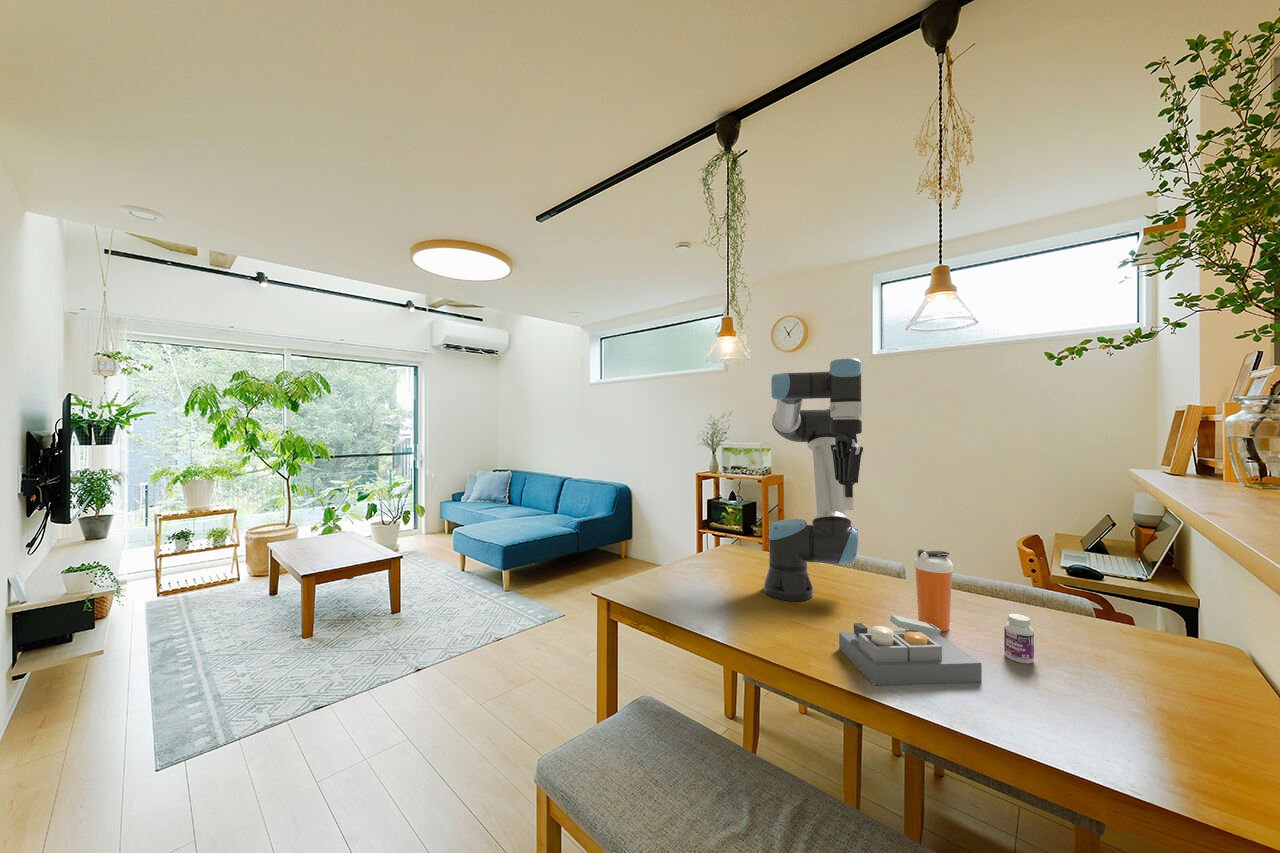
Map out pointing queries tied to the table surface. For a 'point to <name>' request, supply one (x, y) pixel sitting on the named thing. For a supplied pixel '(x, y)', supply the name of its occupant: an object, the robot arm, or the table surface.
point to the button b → (915, 638)
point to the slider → (859, 629)
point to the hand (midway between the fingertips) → (846, 509)
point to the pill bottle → (1019, 639)
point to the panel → (910, 660)
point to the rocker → (915, 625)
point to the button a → (882, 636)
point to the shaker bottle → (933, 587)
